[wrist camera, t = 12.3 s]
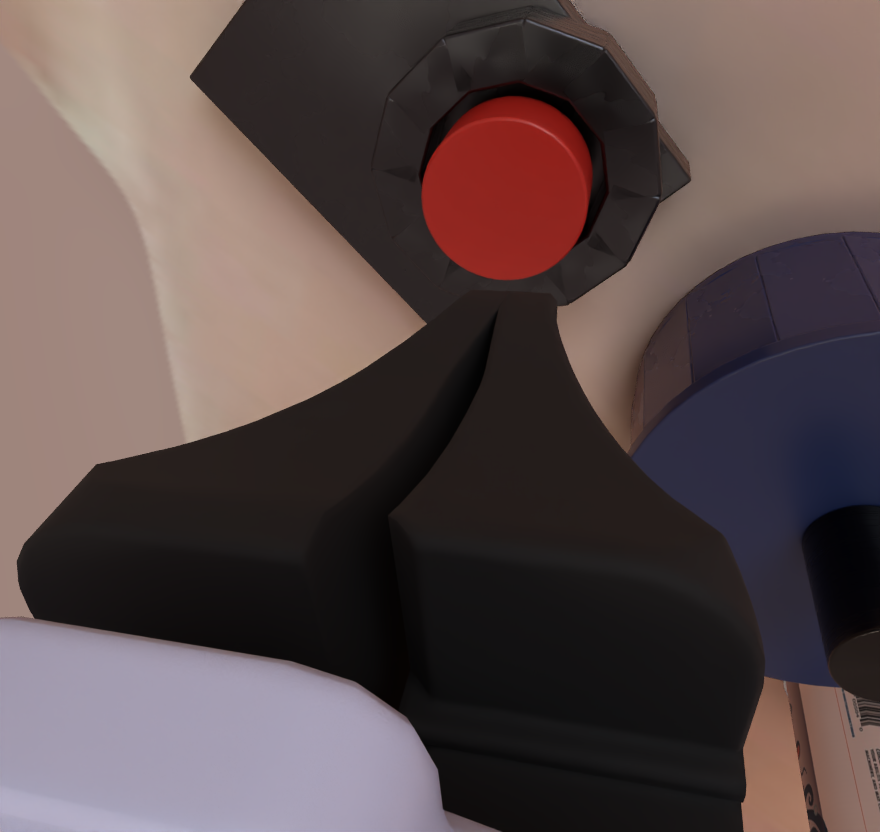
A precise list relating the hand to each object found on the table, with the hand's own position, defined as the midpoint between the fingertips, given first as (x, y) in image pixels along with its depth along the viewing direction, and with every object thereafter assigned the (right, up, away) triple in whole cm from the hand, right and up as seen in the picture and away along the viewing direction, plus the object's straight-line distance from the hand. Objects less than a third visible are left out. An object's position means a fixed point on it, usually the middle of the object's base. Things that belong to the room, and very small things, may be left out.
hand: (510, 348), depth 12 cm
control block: (-1, +7, +8) cm, 10 cm away
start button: (+1, +5, +5) cm, 7 cm away
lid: (+9, -4, +6) cm, 11 cm away
